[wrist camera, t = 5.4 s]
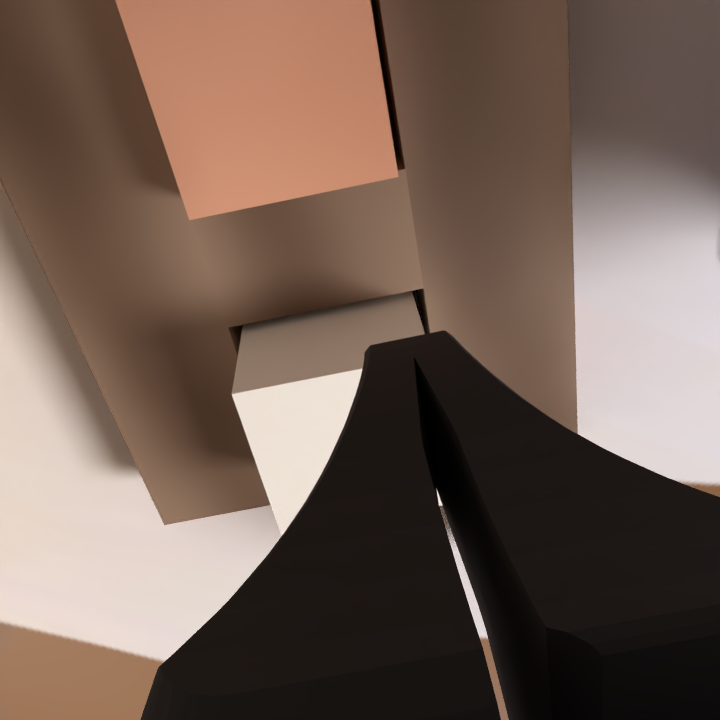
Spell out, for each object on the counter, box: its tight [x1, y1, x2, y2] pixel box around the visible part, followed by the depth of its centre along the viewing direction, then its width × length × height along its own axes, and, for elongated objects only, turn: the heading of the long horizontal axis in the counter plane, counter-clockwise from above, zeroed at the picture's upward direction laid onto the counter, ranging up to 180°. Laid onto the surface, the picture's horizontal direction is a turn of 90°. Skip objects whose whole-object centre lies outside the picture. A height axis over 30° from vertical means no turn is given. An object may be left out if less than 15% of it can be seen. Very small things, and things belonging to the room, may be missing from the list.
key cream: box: [232, 291, 442, 535], centre depth 20 cm, size 5×5×4 cm
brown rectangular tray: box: [0, 0, 577, 525], centre depth 17 cm, size 14×26×2 cm, turn 11°
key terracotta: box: [115, 0, 398, 220], centre depth 16 cm, size 5×5×4 cm
